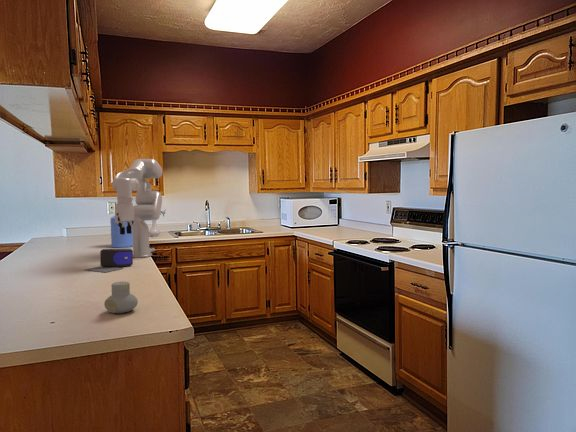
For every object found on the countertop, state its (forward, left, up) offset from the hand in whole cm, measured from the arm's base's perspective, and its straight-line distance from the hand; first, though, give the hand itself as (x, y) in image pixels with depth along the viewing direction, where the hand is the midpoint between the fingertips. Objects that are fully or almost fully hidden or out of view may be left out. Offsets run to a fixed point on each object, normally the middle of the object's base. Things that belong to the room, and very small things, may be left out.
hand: (125, 233), depth 241 cm
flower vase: (-107, -84, -17) cm, 137 cm away
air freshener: (+65, +69, -18) cm, 96 cm away
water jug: (-50, -59, -17) cm, 79 cm away
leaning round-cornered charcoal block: (+7, 0, -17) cm, 19 cm away
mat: (+16, 0, -17) cm, 23 cm away
